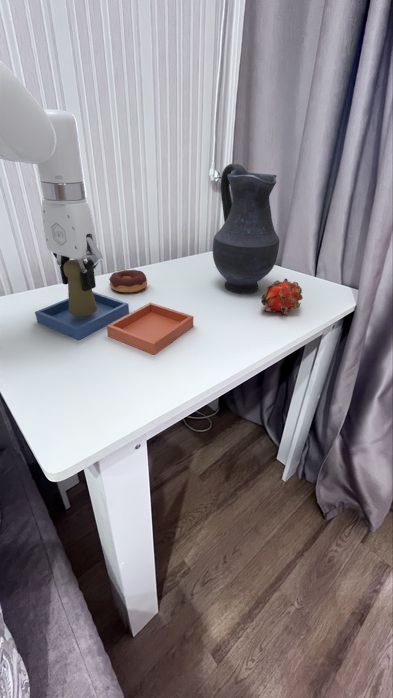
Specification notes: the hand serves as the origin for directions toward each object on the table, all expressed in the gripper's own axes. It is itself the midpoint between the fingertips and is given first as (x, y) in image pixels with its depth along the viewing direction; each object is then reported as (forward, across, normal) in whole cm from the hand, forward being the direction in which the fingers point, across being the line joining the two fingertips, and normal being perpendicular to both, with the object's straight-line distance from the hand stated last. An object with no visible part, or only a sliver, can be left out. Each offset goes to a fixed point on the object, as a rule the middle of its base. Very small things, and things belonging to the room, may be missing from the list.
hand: (79, 284), depth 70 cm
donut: (+8, -4, +19) cm, 21 cm away
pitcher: (+8, +19, +39) cm, 44 cm away
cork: (+6, 0, 0) cm, 6 cm away
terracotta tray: (+8, +16, +4) cm, 18 cm away
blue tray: (+8, 0, 0) cm, 8 cm away
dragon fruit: (+8, +35, +30) cm, 47 cm away
